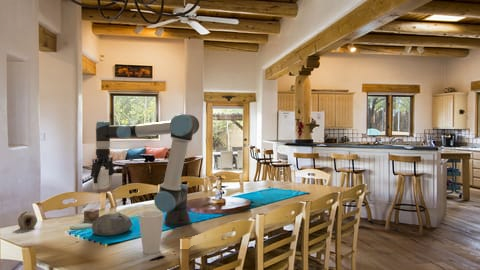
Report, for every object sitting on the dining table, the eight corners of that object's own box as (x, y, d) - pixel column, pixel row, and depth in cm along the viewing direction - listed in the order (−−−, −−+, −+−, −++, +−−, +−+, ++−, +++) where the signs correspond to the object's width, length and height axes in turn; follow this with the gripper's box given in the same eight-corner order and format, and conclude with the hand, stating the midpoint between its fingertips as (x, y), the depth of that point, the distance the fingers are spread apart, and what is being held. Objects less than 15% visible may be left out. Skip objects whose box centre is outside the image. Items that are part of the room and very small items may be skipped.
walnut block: (98, 218, 217) (98, 209, 217) (93, 221, 211) (93, 211, 211) (90, 218, 218) (89, 208, 218) (84, 220, 212) (84, 211, 212)
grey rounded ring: (18, 233, 196) (12, 216, 195) (32, 226, 203) (26, 211, 203) (29, 230, 192) (22, 213, 191) (42, 223, 200) (36, 207, 199)
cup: (148, 246, 166) (148, 210, 166) (167, 248, 163) (167, 211, 163) (134, 254, 155) (134, 216, 155) (155, 256, 153) (154, 217, 152)
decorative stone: (92, 229, 194) (91, 211, 194) (131, 225, 202) (131, 208, 201) (91, 238, 178) (91, 219, 177) (133, 234, 185) (133, 215, 185)
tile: (105, 218, 218) (105, 218, 218) (91, 223, 208) (91, 222, 208) (91, 217, 222) (91, 217, 222) (77, 221, 211) (77, 221, 211)
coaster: (97, 225, 203) (97, 224, 203) (81, 230, 192) (81, 230, 192) (81, 223, 207) (81, 222, 207) (64, 228, 196) (64, 228, 196)
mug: (100, 190, 194) (100, 171, 194) (89, 188, 202) (89, 169, 202) (114, 188, 201) (114, 169, 201) (103, 186, 209) (103, 168, 208)
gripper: (110, 147, 213) (110, 184, 213) (83, 149, 193) (83, 190, 193) (120, 147, 210) (120, 185, 211) (94, 149, 190) (93, 191, 191)
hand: (102, 187), depth 202 cm, fingers closed on mug, 9 cm apart
